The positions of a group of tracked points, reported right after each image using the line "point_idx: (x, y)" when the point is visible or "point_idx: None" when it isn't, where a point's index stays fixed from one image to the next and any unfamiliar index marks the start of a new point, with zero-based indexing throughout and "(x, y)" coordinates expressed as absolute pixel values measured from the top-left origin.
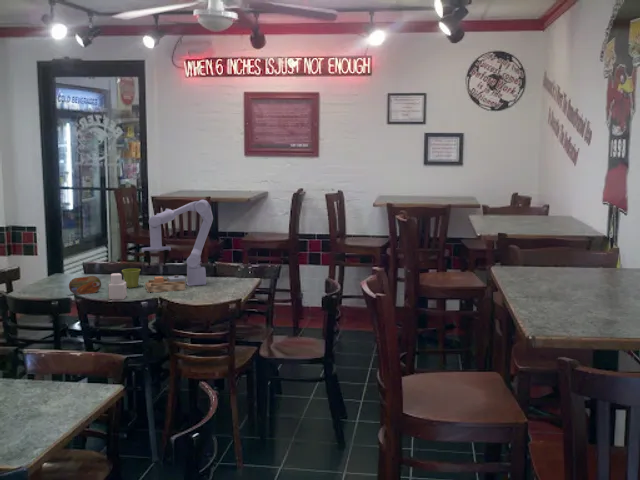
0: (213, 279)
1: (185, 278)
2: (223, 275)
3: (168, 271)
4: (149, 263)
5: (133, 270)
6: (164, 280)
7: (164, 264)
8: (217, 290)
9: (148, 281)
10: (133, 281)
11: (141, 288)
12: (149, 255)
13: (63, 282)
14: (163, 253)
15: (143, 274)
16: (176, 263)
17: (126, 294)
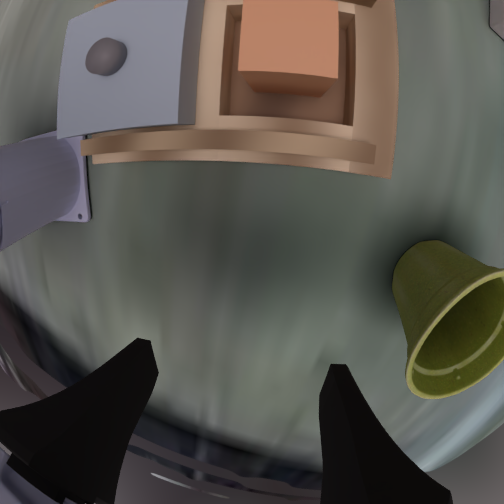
0: (12, 257)
1: (72, 20)
2: (8, 308)
3: (179, 450)
4: (346, 383)
5: (425, 382)
6: (218, 129)
7: (143, 340)
8: (30, 10)
9: (370, 161)
10: (451, 251)
11: (398, 185)
12: (370, 489)
13: (498, 409)
14: (104, 475)
15: (266, 456)
16: (162, 477)
17: (494, 16)
